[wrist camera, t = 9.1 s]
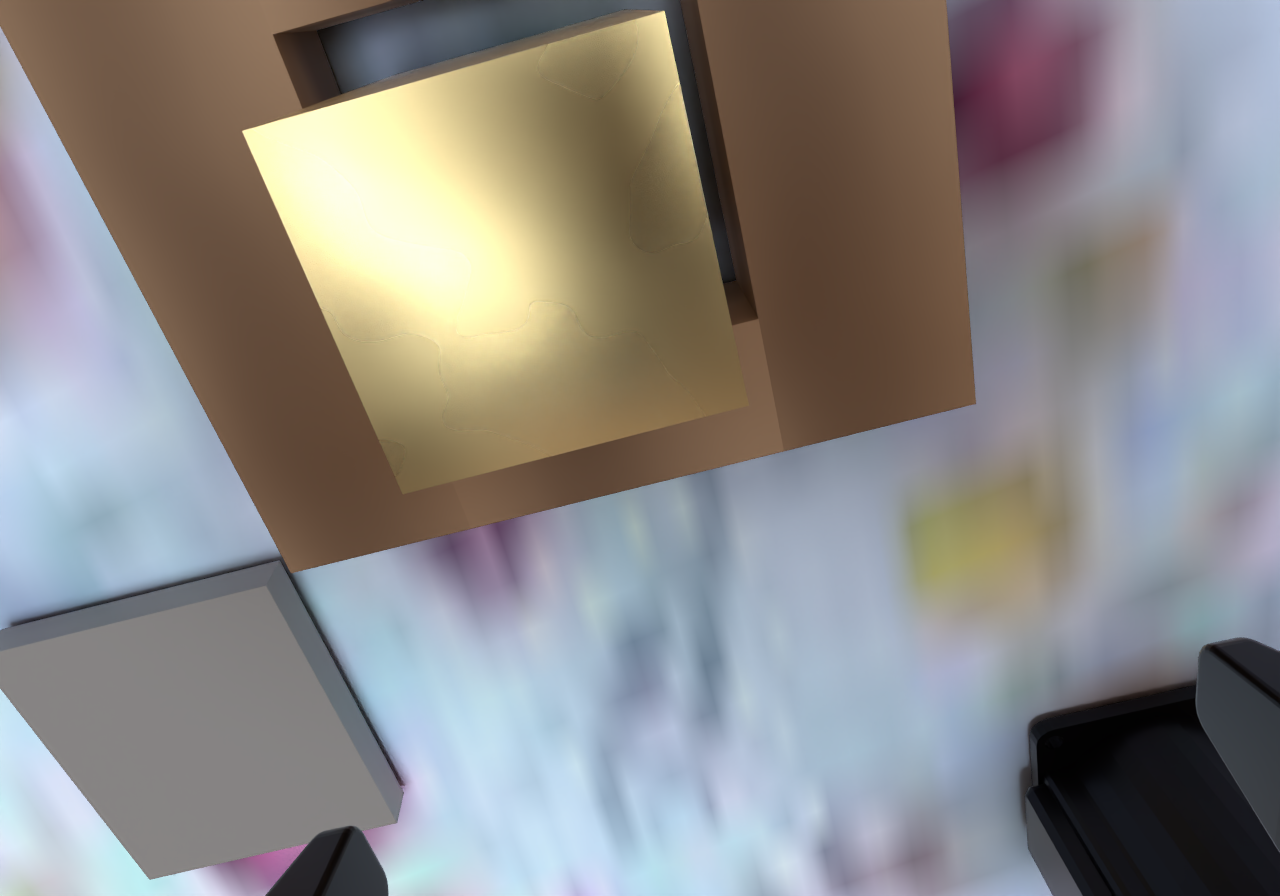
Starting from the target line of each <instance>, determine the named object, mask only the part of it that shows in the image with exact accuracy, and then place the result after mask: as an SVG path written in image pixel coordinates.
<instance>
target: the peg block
mask: <svg viewBox="0 0 1280 896" xmlns="http://www.w3.org/2000/svg"><path fill="white" fill-rule="evenodd" d="M242 132H243V134H244V137H245V139H246V141H247V143H248V146H249V148H250V150H251V152H252V155H253V157H254V159H255V161H256V164H257V166H258V168H259V170H260V173H261V175H262V177H263V180H264V182H265V184H266V186H267V189H268V191H269V193H270V195H271V198H272V200H273V202H274V204H275V207H276V209H277V211H278V213H279V216H280V218H281V220H282V222H283V225H284V227H285V229H286V232H287V234H288V236H289V238H290V241H291V243H292V245H293V247H294V250H295V252H296V254H297V256H298V259H299V261H300V263H301V265H302V268H303V270H304V272H305V275H306V277H307V279H308V281H309V284H310V286H311V288H312V290H313V293H314V295H315V297H316V299H317V302H318V304H319V306H320V308H321V311H322V313H323V315H324V318H325V320H326V322H327V324H328V327H329V329H330V331H331V333H332V336H333V338H334V340H335V342H336V345H337V347H338V349H339V351H340V354H341V356H342V358H343V360H344V363H345V365H346V367H347V370H348V372H349V374H350V376H351V379H352V381H353V383H354V385H355V388H356V390H357V392H358V394H359V397H360V399H361V401H362V403H363V406H364V408H365V410H366V413H367V415H368V417H369V419H370V422H371V424H372V426H373V428H374V431H375V433H376V435H377V437H378V440H379V442H380V444H381V446H382V449H383V451H384V453H385V456H386V458H387V460H388V462H389V465H390V467H391V469H392V471H393V474H394V476H395V478H396V480H397V483H398V485H399V487H400V489H401V492H402V494H406V493H410V492H414V491H418V490H422V489H426V488H429V487H433V486H437V485H441V484H445V483H449V482H453V481H457V480H461V479H465V478H468V477H472V476H476V475H480V474H484V473H488V472H492V471H496V470H500V469H504V468H507V467H511V466H515V465H519V464H523V463H527V462H531V461H535V460H539V459H543V458H546V457H550V456H554V455H558V454H562V453H566V452H570V451H574V450H578V449H582V448H585V447H589V446H593V445H597V444H601V443H605V442H609V441H613V440H617V439H621V438H624V437H628V436H632V435H636V434H640V433H644V432H648V431H652V430H656V429H660V428H663V427H667V426H671V425H675V424H679V423H683V422H687V421H691V420H695V419H699V418H702V417H706V416H710V415H714V414H718V413H722V412H726V411H730V410H734V409H738V408H741V407H745V406H749V403H748V399H747V394H746V389H745V385H744V380H743V375H742V371H741V366H740V361H739V357H738V352H737V347H736V343H735V338H734V333H733V329H732V324H731V319H730V315H729V310H728V305H727V301H726V296H725V291H724V287H723V282H722V277H721V273H720V268H719V263H718V259H717V254H716V249H715V245H714V240H713V235H712V231H711V226H710V221H709V217H708V212H707V207H706V203H705V198H704V193H703V189H702V184H701V179H700V175H699V170H698V165H697V161H696V156H695V151H694V147H693V142H692V137H691V133H690V128H689V123H688V119H687V114H686V109H685V105H684V100H683V95H682V91H681V86H680V81H679V77H678V72H677V67H676V63H675V58H674V53H673V49H672V44H671V39H670V35H669V30H668V25H667V21H666V16H665V11H652V10H629V9H624V10H621V11H617V12H614V13H610V14H607V15H603V16H600V17H596V18H593V19H589V20H586V21H582V22H579V23H575V24H572V25H568V26H565V27H561V28H558V29H554V30H551V31H547V32H544V33H540V34H537V35H533V36H530V37H526V38H523V39H519V40H516V41H512V42H509V43H505V44H502V45H498V46H495V47H491V48H488V49H484V50H480V51H477V52H473V53H470V54H466V55H463V56H459V57H456V58H452V59H449V60H445V61H442V62H438V63H435V64H431V65H428V66H424V67H421V68H417V69H414V70H410V71H407V72H403V73H400V74H396V75H393V76H390V77H387V78H384V79H382V80H379V81H376V82H374V83H371V84H368V85H365V86H363V87H360V88H357V89H355V90H352V91H349V92H346V93H344V94H341V95H338V96H336V97H333V98H330V99H327V100H325V101H322V102H319V103H317V104H314V105H311V106H308V107H306V108H303V109H300V110H298V111H295V112H292V113H289V114H287V115H284V116H281V117H279V118H276V119H273V120H270V121H268V122H265V123H262V124H260V125H257V126H254V127H251V128H249V129H246V130H243V131H242Z"/></svg>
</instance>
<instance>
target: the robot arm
mask: <svg viewBox="0 0 1280 896" xmlns="http://www.w3.org/2000/svg"><path fill="white" fill-rule="evenodd" d="M1030 752H1031V771H1032V786H1031V787H1029V788H1028V791H1027V793H1026V795H1025V803H1026V821H1027V838H1028V849H1029V851H1030V853H1031V855H1032V857H1033V859H1034V861H1035V863H1036V865H1037V866H1038V868H1039V870H1040V872H1041V874H1042V876H1043V878H1044V880H1045V881H1046V883H1047V885H1048V887H1049V889H1050V891H1051V893H1052V895H1053V896H1280V651H1278V650H1276V649H1273V648H1271V647H1269V646H1266V645H1264V644H1262V643H1259V642H1257V641H1255V640H1252V639H1249V638H1234V639H1229V640H1224V641H1219V642H1215V643H1210V644H1207V645H1205V646H1203V647H1202V649H1201V650H1200V652H1199V657H1198V671H1197V685H1195V686H1191V687H1186V688H1182V689H1177V690H1173V691H1169V692H1164V693H1160V694H1155V695H1151V696H1147V697H1142V698H1138V699H1133V700H1129V701H1124V702H1120V703H1116V704H1111V705H1107V706H1102V707H1098V708H1094V709H1089V710H1085V711H1080V712H1076V713H1072V714H1067V715H1063V716H1058V717H1054V718H1049V719H1046V720H1043V721H1040V722H1039V723H1037V724H1036V725H1035V726H1034V727H1033V728H1032V730H1031V732H1030ZM265 896H388V883H387V878H386V875H385V872H384V870H383V868H382V866H381V865H380V863H379V861H378V859H377V857H376V855H375V854H374V852H373V850H372V848H371V846H370V844H369V843H368V841H367V839H366V837H365V835H364V834H363V832H362V831H361V829H359V828H358V827H356V826H351V825H350V826H345V827H340V828H336V829H331V830H326V831H323V832H321V833H319V834H317V835H316V836H315V837H314V838H313V839H312V840H311V841H310V843H309V844H308V845H307V846H306V847H305V849H304V850H303V851H302V852H301V853H300V855H299V856H298V857H297V858H296V859H295V861H294V862H293V863H292V864H291V865H290V867H289V868H288V869H287V870H286V871H285V873H284V874H283V875H282V876H281V877H280V879H279V880H278V881H277V882H276V883H275V885H274V886H273V887H272V888H271V889H270V891H269V892H268V893H267V894H266V895H265Z"/></svg>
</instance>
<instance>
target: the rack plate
mask: <svg viewBox="0 0 1280 896" xmlns="http://www.w3.org/2000/svg"><path fill="white" fill-rule="evenodd" d="M419 1H423V0H0V26H1V28H2V30H3V32H4V34H5V36H6V38H7V40H8V42H9V43H10V45H11V47H12V49H13V51H14V53H15V55H16V57H17V58H18V60H19V62H20V64H21V66H22V68H23V70H24V72H25V74H26V75H27V77H28V79H29V81H30V83H31V85H32V87H33V89H34V90H35V92H36V94H37V96H38V98H39V100H40V102H41V104H42V106H43V107H44V109H45V111H46V113H47V115H48V117H49V119H50V121H51V122H52V124H53V126H54V128H55V130H56V132H57V134H58V136H59V138H60V139H61V141H62V143H63V145H64V147H65V149H66V151H67V153H68V154H69V156H70V158H71V160H72V162H73V164H74V166H75V168H76V170H77V171H78V173H79V175H80V177H81V179H82V181H83V183H84V185H85V186H86V188H87V190H88V192H89V194H90V196H91V198H92V200H93V202H94V203H95V205H96V207H97V209H98V211H99V213H100V215H101V217H102V218H103V220H104V222H105V224H106V226H107V228H108V230H109V232H110V234H111V235H112V237H113V239H114V241H115V243H116V245H117V247H118V249H119V250H120V252H121V254H122V256H123V258H124V260H125V262H126V264H127V266H128V267H129V269H130V271H131V273H132V275H133V277H134V279H135V281H136V282H137V284H138V286H139V288H140V290H141V292H142V294H143V296H144V298H145V299H146V301H147V303H148V305H149V307H150V309H151V311H152V313H153V314H154V316H155V318H156V320H157V322H158V324H159V326H160V328H161V330H162V331H163V333H164V335H165V337H166V339H167V341H168V343H169V345H170V346H171V348H172V350H173V352H174V354H175V356H176V358H177V360H178V362H179V363H180V365H181V367H182V369H183V371H184V373H185V375H186V377H187V378H188V380H189V382H190V384H191V386H192V388H193V390H194V392H195V394H196V395H197V397H198V399H199V401H200V403H201V405H202V407H203V409H204V410H205V412H206V414H207V416H208V418H209V420H210V422H211V424H212V426H213V427H214V429H215V431H216V433H217V435H218V437H219V439H220V441H221V442H222V444H223V446H224V448H225V450H226V452H227V454H228V456H229V458H230V459H231V461H232V463H233V465H234V467H235V469H236V471H237V473H238V474H239V476H240V478H241V480H242V482H243V484H244V486H245V488H246V490H247V491H248V493H249V495H250V497H251V499H252V501H253V503H254V505H255V506H256V508H257V510H258V512H259V514H260V516H261V518H262V520H263V522H264V523H265V525H266V527H267V529H268V531H269V533H270V535H271V537H272V538H273V540H274V542H275V544H276V546H277V548H278V550H279V552H280V554H281V555H282V557H283V559H284V561H285V563H286V565H287V567H288V569H289V570H290V572H291V573H294V572H298V571H302V570H306V569H310V568H314V567H318V566H322V565H326V564H330V563H334V562H339V561H343V560H347V559H351V558H355V557H359V556H363V555H367V554H371V553H375V552H379V551H383V550H387V549H391V548H395V547H399V546H403V545H407V544H411V543H415V542H419V541H423V540H427V539H431V538H435V537H440V536H444V535H448V534H452V533H456V532H460V531H464V530H468V529H472V528H476V527H480V526H484V525H488V524H492V523H496V522H500V521H504V520H508V519H512V518H516V517H520V516H524V515H528V514H532V513H537V512H541V511H545V510H549V509H553V508H557V507H561V506H565V505H569V504H573V503H577V502H581V501H585V500H589V499H593V498H597V497H601V496H605V495H609V494H613V493H617V492H621V491H625V490H629V489H633V488H638V487H642V486H646V485H650V484H654V483H658V482H662V481H666V480H670V479H674V478H678V477H682V476H686V475H690V474H694V473H698V472H702V471H706V470H710V469H714V468H718V467H722V466H726V465H730V464H734V463H739V462H743V461H747V460H751V459H755V458H759V457H763V456H767V455H771V454H775V453H779V452H783V451H787V450H791V449H795V448H799V447H803V446H807V445H811V444H815V443H819V442H823V441H827V440H831V439H835V438H840V437H844V436H848V435H852V434H856V433H860V432H864V431H868V430H872V429H876V428H880V427H884V426H888V425H892V424H896V423H900V422H904V421H908V420H912V419H916V418H920V417H924V416H928V415H932V414H937V413H941V412H945V411H949V410H953V409H957V408H961V407H965V406H969V405H973V404H976V398H975V384H974V371H973V357H972V344H971V330H970V317H969V303H968V290H967V276H966V263H965V249H964V236H963V222H962V209H961V195H960V182H959V168H958V155H957V141H956V128H955V114H954V101H953V87H952V73H951V60H950V46H949V33H948V19H947V6H946V0H680V3H681V8H682V13H683V18H684V23H685V28H686V33H687V38H688V43H689V48H690V53H691V58H692V63H693V68H694V72H695V77H696V82H697V87H698V92H699V97H700V102H701V107H702V112H703V117H704V122H705V127H706V132H707V137H708V142H709V147H710V152H711V157H712V162H713V167H714V172H715V177H716V182H717V187H718V192H719V197H720V202H721V207H722V212H723V217H724V222H725V227H726V232H727V237H728V242H729V247H730V252H731V257H732V262H733V267H734V272H735V277H736V281H732V282H728V283H724V284H723V287H724V291H725V296H726V301H727V305H728V310H729V315H730V319H731V324H732V329H733V333H734V338H735V343H736V347H737V352H738V357H739V361H740V366H741V371H742V375H743V380H744V385H745V389H746V394H747V399H748V403H749V406H745V407H741V408H738V409H734V410H730V411H726V412H722V413H718V414H714V415H710V416H706V417H702V418H699V419H695V420H691V421H687V422H683V423H679V424H675V425H671V426H667V427H663V428H660V429H656V430H652V431H648V432H644V433H640V434H636V435H632V436H628V437H624V438H621V439H617V440H613V441H609V442H605V443H601V444H597V445H593V446H589V447H585V448H582V449H578V450H574V451H570V452H566V453H562V454H558V455H554V456H550V457H546V458H543V459H539V460H535V461H531V462H527V463H523V464H519V465H515V466H511V467H507V468H504V469H500V470H496V471H492V472H488V473H484V474H480V475H476V476H472V477H468V478H465V479H461V480H457V481H453V482H449V483H445V484H441V485H437V486H433V487H429V488H426V489H422V490H418V491H414V492H410V493H406V494H402V492H401V489H400V487H399V485H398V483H397V480H396V478H395V476H394V474H393V471H392V469H391V467H390V465H389V462H388V460H387V458H386V456H385V453H384V451H383V449H382V446H381V444H380V442H379V440H378V437H377V435H376V433H375V431H374V428H373V426H372V424H371V422H370V419H369V417H368V415H367V413H366V410H365V408H364V406H363V403H362V401H361V399H360V397H359V394H358V392H357V390H356V388H355V385H354V383H353V381H352V379H351V376H350V374H349V372H348V370H347V367H346V365H345V363H344V360H343V358H342V356H341V354H340V351H339V349H338V347H337V345H336V342H335V340H334V338H333V336H332V333H331V331H330V329H329V327H328V324H327V322H326V320H325V318H324V315H323V313H322V311H321V308H320V306H319V304H318V302H317V299H316V297H315V295H314V293H313V290H312V288H311V286H310V284H309V281H308V279H307V277H306V275H305V272H304V270H303V268H302V265H301V263H300V261H299V259H298V256H297V254H296V252H295V250H294V247H293V245H292V243H291V241H290V238H289V236H288V234H287V232H286V229H285V227H284V225H283V222H282V220H281V218H280V216H279V213H278V211H277V209H276V207H275V204H274V202H273V200H272V198H271V195H270V193H269V191H268V189H267V186H266V184H265V182H264V180H263V177H262V175H261V173H260V170H259V168H258V166H257V164H256V161H255V159H254V157H253V155H252V152H251V150H250V148H249V146H248V143H247V141H246V139H245V137H244V134H243V132H242V131H243V130H246V129H249V128H251V127H254V126H257V125H260V124H262V123H265V122H268V121H270V120H273V119H276V118H279V117H281V116H284V115H287V114H289V113H292V112H295V111H298V110H300V109H303V108H306V107H308V106H311V105H314V104H317V103H319V102H322V101H325V100H327V99H330V98H333V97H336V96H338V95H341V94H340V91H339V88H338V86H337V83H336V80H335V78H334V75H333V72H332V70H331V67H330V65H329V62H328V59H327V57H326V54H325V51H324V49H323V46H322V43H321V41H320V38H319V36H318V33H317V30H320V29H324V28H327V27H331V26H334V25H338V24H341V23H345V22H348V21H352V20H355V19H359V18H362V17H366V16H370V15H373V14H377V13H380V12H384V11H387V10H391V9H394V8H398V7H401V6H405V5H408V4H412V3H416V2H419Z"/></svg>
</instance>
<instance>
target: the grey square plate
mask: <svg viewBox="0 0 1280 896" xmlns="http://www.w3.org/2000/svg"><path fill="white" fill-rule="evenodd" d="M0 689H1V690H2V691H3V693H4V694H5V695H6V696H7V698H8V699H9V700H10V702H11V703H12V704H13V705H14V707H15V708H16V709H17V711H18V712H19V713H20V714H21V716H22V717H23V718H24V719H25V721H26V722H27V723H28V725H29V726H30V727H31V728H32V730H33V731H34V732H35V734H36V735H37V736H38V737H39V739H40V740H41V741H42V743H43V744H44V745H45V746H46V748H47V749H48V750H49V751H50V753H51V754H52V755H53V757H54V758H55V759H56V760H57V762H58V763H59V764H60V766H61V767H62V768H63V769H64V771H65V772H66V773H67V775H68V776H69V777H70V778H71V780H72V781H73V782H74V784H75V785H76V786H77V787H78V789H79V790H80V791H81V792H82V794H83V795H84V796H85V798H86V799H87V800H88V801H89V803H90V804H91V805H92V807H93V808H94V809H95V810H96V812H97V813H98V814H99V816H100V817H101V818H102V819H103V821H104V822H105V823H106V825H107V826H108V827H109V828H110V830H111V831H112V832H113V833H114V835H115V836H116V837H117V839H118V840H119V841H120V842H121V844H122V845H123V846H124V848H125V849H126V850H127V851H128V853H129V854H130V855H131V857H132V858H133V859H134V860H135V862H136V863H137V864H138V865H139V867H140V868H141V869H142V871H143V872H144V873H145V874H146V876H147V877H148V878H149V880H150V879H155V878H159V877H163V876H168V875H172V874H177V873H181V872H185V871H190V870H194V869H198V868H203V867H207V866H211V865H216V864H220V863H224V862H229V861H233V860H238V859H242V858H246V857H251V856H255V855H259V854H264V853H268V852H272V851H277V850H281V849H285V848H290V847H294V846H299V845H303V844H307V843H310V841H311V840H312V839H313V838H314V837H315V836H316V835H317V834H319V833H321V832H323V831H326V830H331V829H336V828H340V827H345V826H350V825H351V826H356V827H358V828H359V829H361V831H364V830H368V829H373V828H377V827H381V826H386V825H390V824H394V823H397V821H398V816H399V812H400V807H401V803H402V798H403V794H404V792H403V790H402V788H401V786H400V785H399V783H398V781H397V779H396V777H395V775H394V773H393V771H392V770H391V768H390V766H389V764H388V762H387V760H386V758H385V757H384V755H383V753H382V751H381V749H380V747H379V745H378V743H377V742H376V740H375V738H374V736H373V734H372V732H371V730H370V728H369V727H368V725H367V723H366V721H365V719H364V717H363V715H362V713H361V712H360V710H359V708H358V706H357V704H356V702H355V700H354V698H353V697H352V695H351V693H350V691H349V689H348V687H347V685H346V683H345V682H344V680H343V678H342V676H341V674H340V672H339V670H338V669H337V667H336V665H335V663H334V661H333V659H332V657H331V655H330V654H329V652H328V650H327V648H326V646H325V644H324V642H323V640H322V639H321V637H320V635H319V633H318V631H317V629H316V627H315V625H314V624H313V622H312V620H311V618H310V616H309V614H308V612H307V610H306V609H305V607H304V605H303V603H302V601H301V599H300V597H299V595H298V594H297V592H296V590H295V588H294V586H293V584H292V582H291V581H290V579H289V577H288V575H287V573H286V571H285V569H284V567H283V566H282V564H281V562H280V560H279V561H275V562H271V563H267V564H263V565H259V566H255V567H251V568H247V569H243V570H239V571H235V572H231V573H226V574H222V575H218V576H214V577H210V578H206V579H202V580H198V581H194V582H190V583H186V584H182V585H178V586H174V587H170V588H166V589H162V590H158V591H154V592H150V593H146V594H142V595H138V596H134V597H130V598H126V599H122V600H118V601H114V602H110V603H106V604H102V605H98V606H94V607H90V608H86V609H82V610H78V611H74V612H70V613H66V614H62V615H58V616H53V617H49V618H45V619H41V620H37V621H33V622H29V623H25V624H21V625H17V626H13V627H9V628H5V629H2V630H1V631H0Z"/></svg>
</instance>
